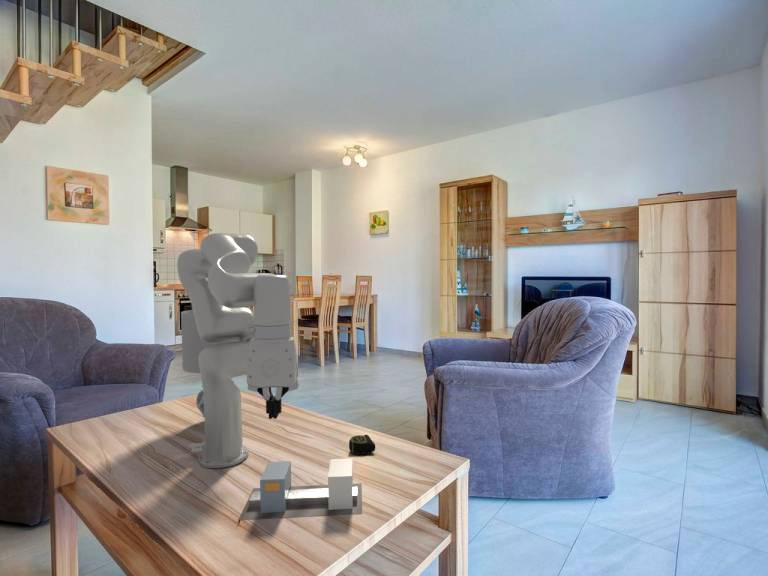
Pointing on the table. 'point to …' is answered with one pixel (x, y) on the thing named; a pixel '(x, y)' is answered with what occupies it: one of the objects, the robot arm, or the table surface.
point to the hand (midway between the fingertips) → (274, 416)
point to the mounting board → (302, 507)
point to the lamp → (193, 349)
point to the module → (275, 486)
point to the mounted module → (340, 484)
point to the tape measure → (361, 444)
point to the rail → (301, 497)
